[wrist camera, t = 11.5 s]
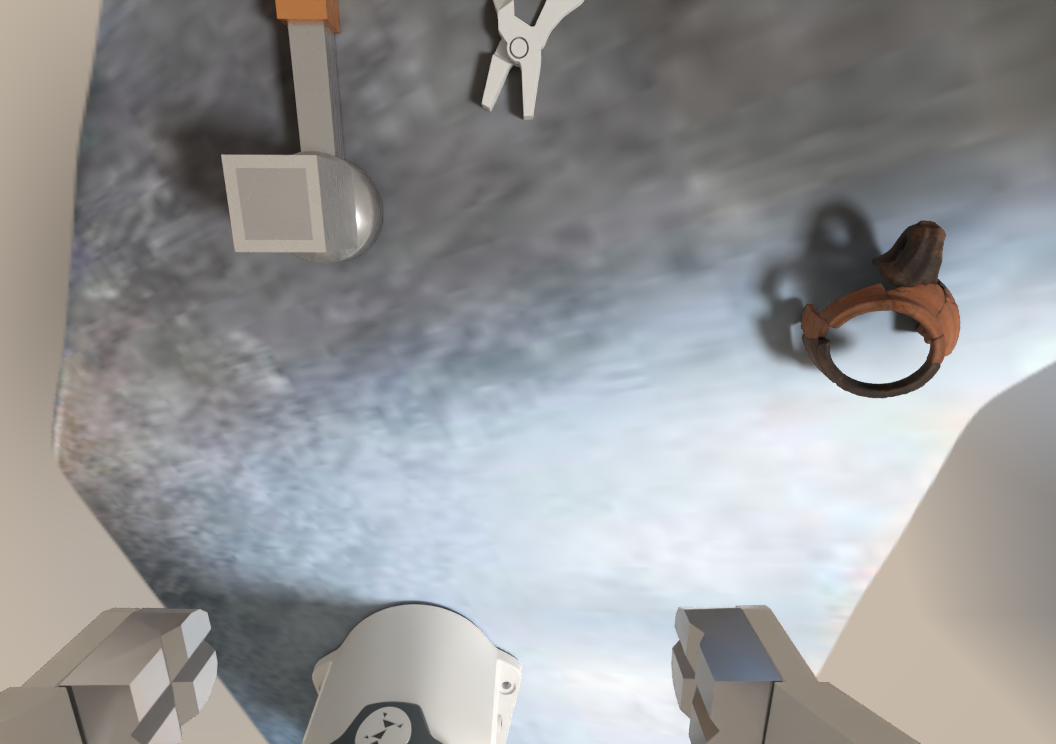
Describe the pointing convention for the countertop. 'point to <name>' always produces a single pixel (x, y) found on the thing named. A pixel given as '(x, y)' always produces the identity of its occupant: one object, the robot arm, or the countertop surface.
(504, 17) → the pliers
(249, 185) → the white open box
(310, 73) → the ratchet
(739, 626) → the robot arm
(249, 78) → the countertop surface
